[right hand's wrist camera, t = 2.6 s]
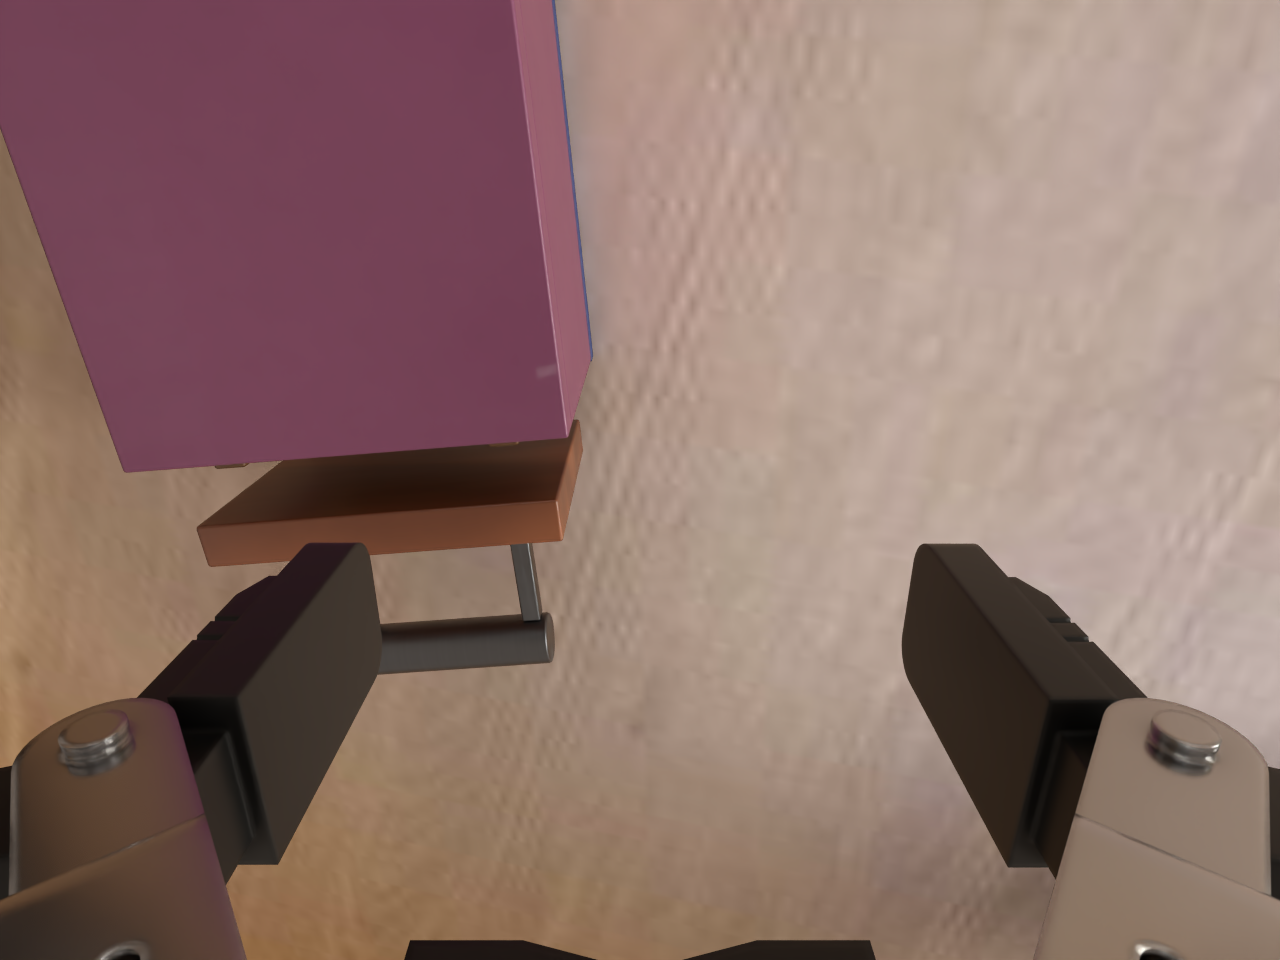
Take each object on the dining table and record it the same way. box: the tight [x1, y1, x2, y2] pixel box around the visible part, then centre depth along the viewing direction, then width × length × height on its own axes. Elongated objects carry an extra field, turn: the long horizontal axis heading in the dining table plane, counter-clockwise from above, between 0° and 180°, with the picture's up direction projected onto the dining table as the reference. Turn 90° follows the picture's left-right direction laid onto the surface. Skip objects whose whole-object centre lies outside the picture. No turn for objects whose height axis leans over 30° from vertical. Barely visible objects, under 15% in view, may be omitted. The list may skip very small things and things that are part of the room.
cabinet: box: [0, 0, 593, 473], centre depth 18 cm, size 19×11×9 cm, turn 5°
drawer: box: [197, 420, 583, 675], centre depth 21 cm, size 24×9×7 cm, turn 5°
